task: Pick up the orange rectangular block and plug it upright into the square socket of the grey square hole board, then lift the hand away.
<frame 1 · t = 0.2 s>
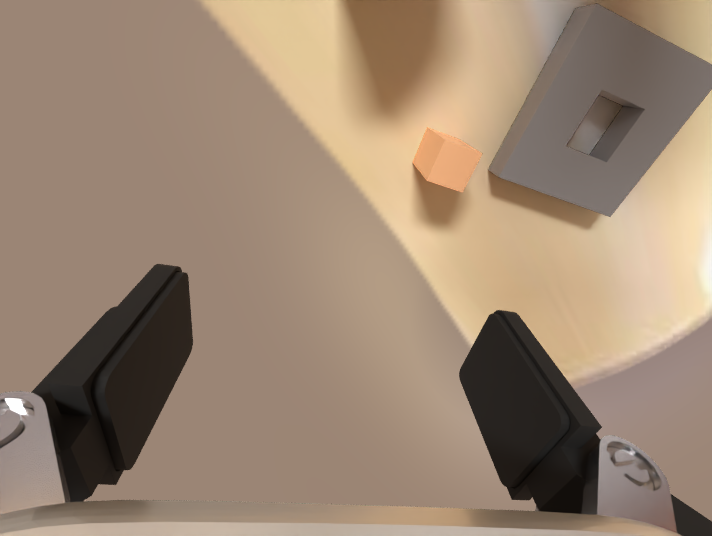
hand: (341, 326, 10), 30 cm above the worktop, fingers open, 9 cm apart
grey square hole board: (585, 123, 36), on the worktop
orange rectangular block: (435, 150, 37), on the worktop
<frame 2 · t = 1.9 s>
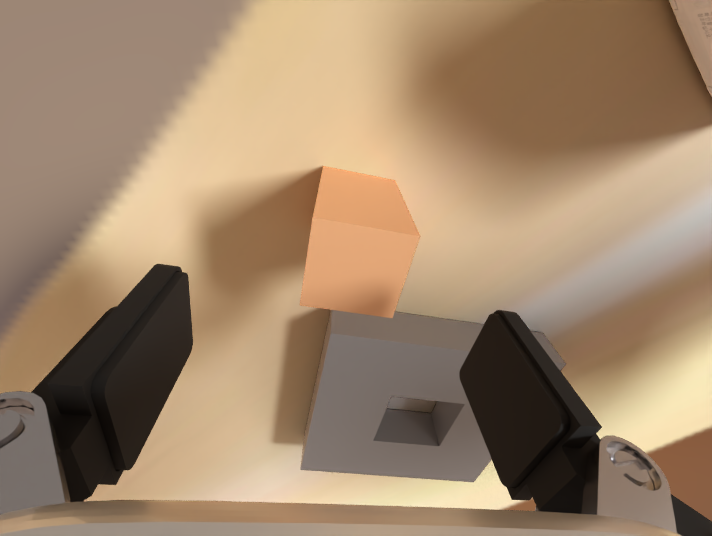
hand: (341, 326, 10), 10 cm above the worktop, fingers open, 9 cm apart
grey square hole board: (410, 390, 27), on the worktop
orange rectangular block: (352, 207, 19), on the worktop
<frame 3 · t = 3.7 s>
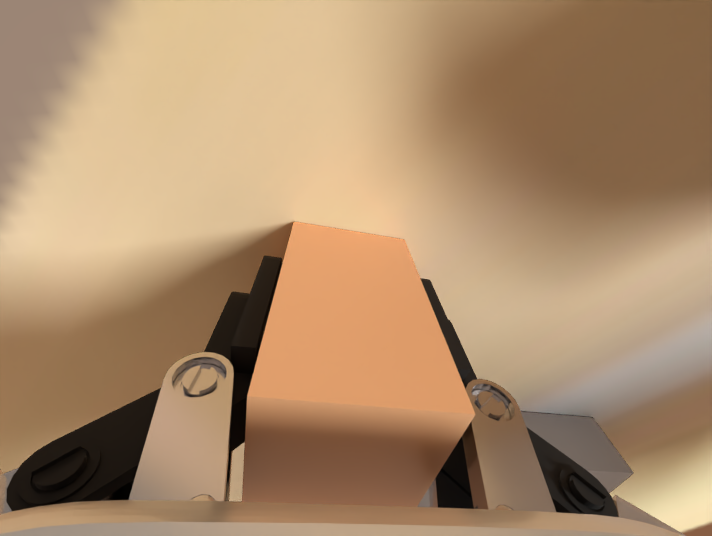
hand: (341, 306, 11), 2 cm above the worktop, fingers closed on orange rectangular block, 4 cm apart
grey square hole board: (418, 482, 21), on the worktop
orange rectangular block: (340, 277, 12), on the worktop, touching gripper
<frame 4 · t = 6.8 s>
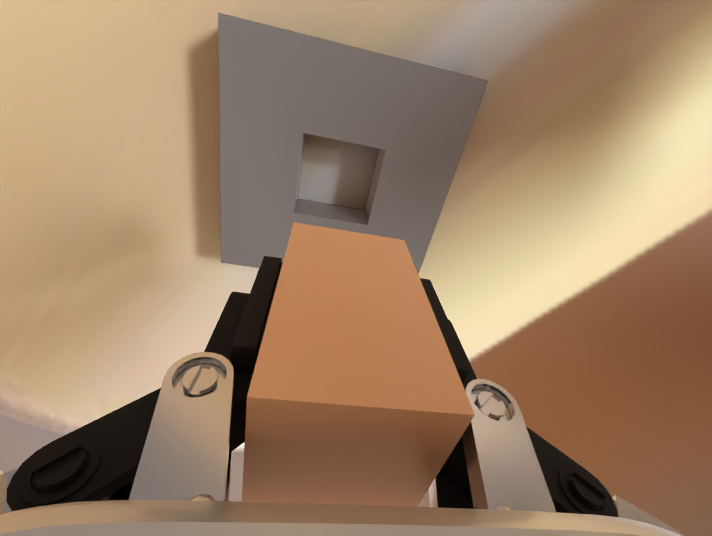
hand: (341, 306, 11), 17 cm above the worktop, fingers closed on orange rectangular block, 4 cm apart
grey square hole board: (337, 171, 25), on the worktop
orange rectangular block: (340, 277, 12), point 15 cm above the worktop, touching gripper
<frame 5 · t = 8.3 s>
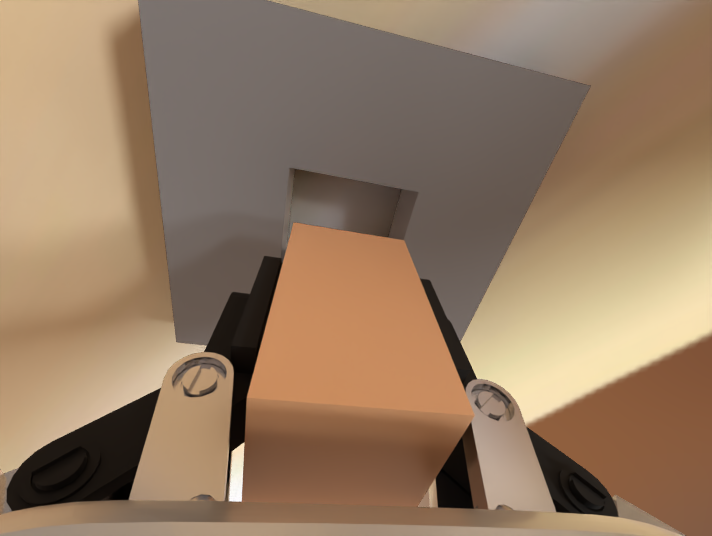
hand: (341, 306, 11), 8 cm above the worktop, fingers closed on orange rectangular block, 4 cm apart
grey square hole board: (342, 213, 18), on the worktop
orange rectangular block: (340, 278, 12), point 6 cm above the worktop, touching gripper
when the fingers open (4 cm above the worktop, at t = 9.8 s): orange rectangular block drops 2 cm, resting in grey square hole board.
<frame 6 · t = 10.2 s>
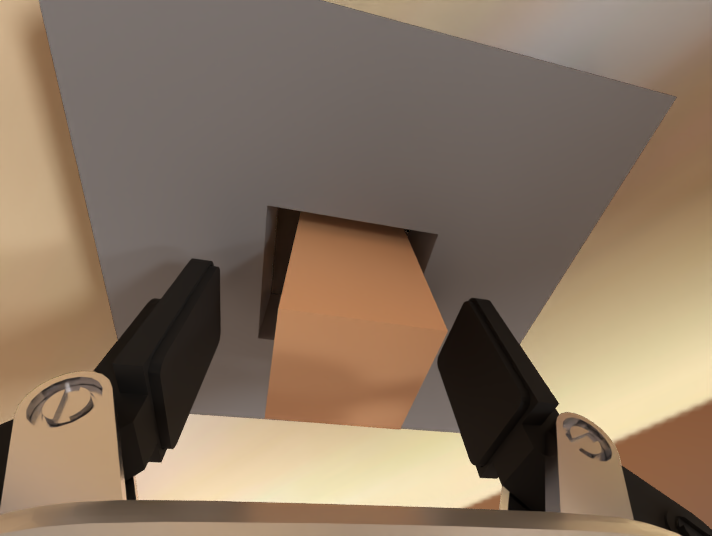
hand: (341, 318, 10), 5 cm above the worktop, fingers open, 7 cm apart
grey square hole board: (339, 251, 14), on the worktop
orange rectangular block: (342, 249, 14), resting in grey square hole board
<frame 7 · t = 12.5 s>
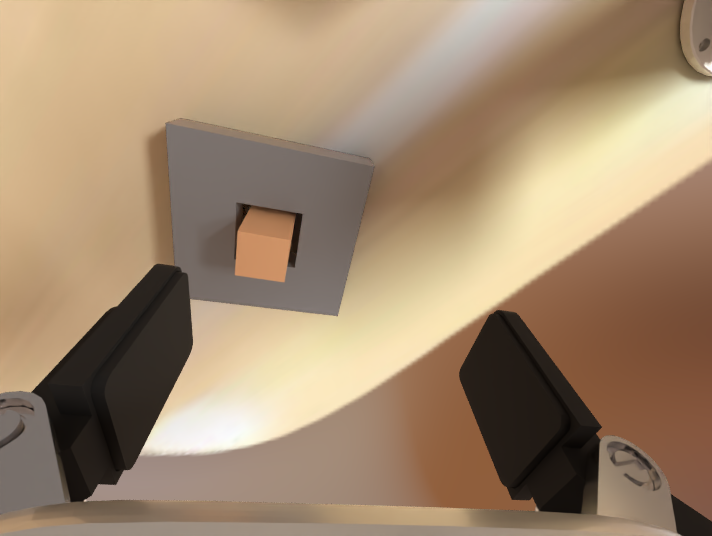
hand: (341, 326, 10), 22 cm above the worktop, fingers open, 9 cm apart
grey square hole board: (271, 224, 32), on the worktop
orange rectangular block: (273, 223, 32), resting in grey square hole board
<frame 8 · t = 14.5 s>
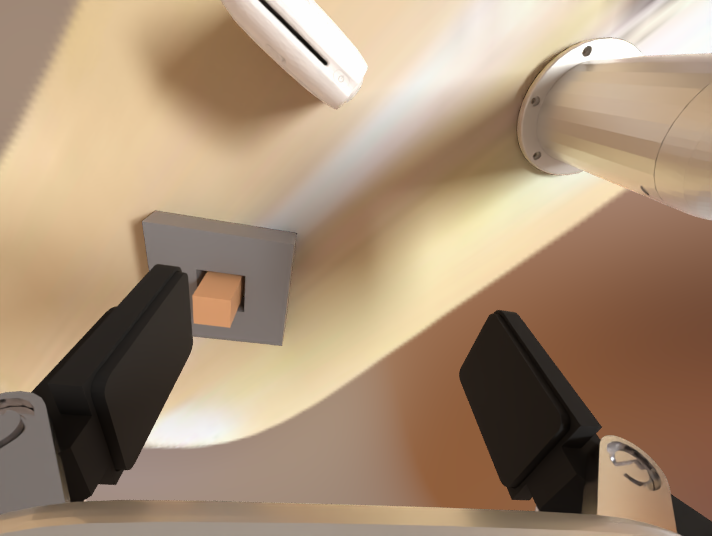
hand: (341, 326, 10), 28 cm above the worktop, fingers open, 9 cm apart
photo printer: (308, 45, 30), on the worktop
grey square hole board: (228, 278, 42), on the worktop
orange rectangular block: (229, 277, 42), resting in grey square hole board
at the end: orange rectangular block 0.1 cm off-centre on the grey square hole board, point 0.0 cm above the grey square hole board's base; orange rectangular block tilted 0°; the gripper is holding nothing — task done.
